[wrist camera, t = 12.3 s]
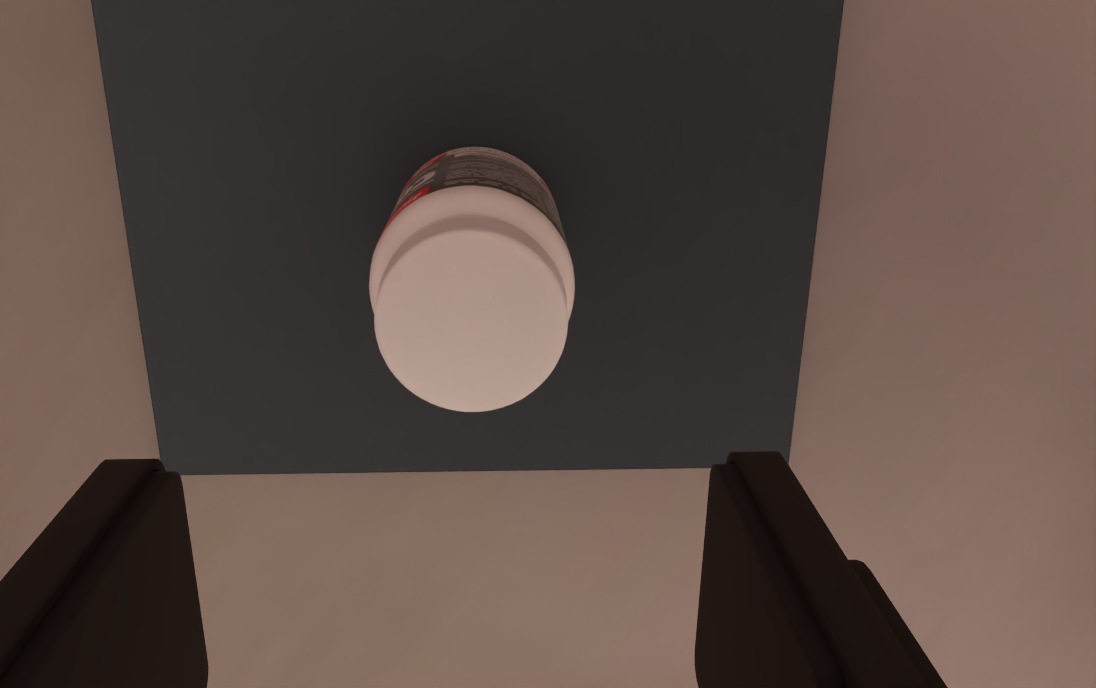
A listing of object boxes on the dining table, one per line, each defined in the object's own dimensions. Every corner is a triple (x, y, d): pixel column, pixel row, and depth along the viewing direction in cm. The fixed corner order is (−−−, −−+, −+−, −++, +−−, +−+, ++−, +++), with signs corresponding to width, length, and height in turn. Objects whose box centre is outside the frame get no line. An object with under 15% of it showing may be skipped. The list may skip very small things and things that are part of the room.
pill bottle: (411, 127, 25) (374, 183, 18) (576, 165, 26) (610, 237, 18) (381, 287, 27) (334, 404, 19) (537, 319, 28) (554, 446, 20)
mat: (847, -68, 25) (852, -69, 24) (784, 462, 30) (788, 467, 30) (83, -83, 24) (77, -84, 23) (166, 469, 29) (162, 476, 29)
